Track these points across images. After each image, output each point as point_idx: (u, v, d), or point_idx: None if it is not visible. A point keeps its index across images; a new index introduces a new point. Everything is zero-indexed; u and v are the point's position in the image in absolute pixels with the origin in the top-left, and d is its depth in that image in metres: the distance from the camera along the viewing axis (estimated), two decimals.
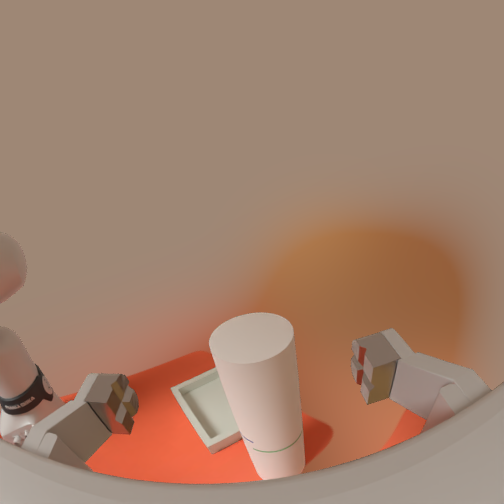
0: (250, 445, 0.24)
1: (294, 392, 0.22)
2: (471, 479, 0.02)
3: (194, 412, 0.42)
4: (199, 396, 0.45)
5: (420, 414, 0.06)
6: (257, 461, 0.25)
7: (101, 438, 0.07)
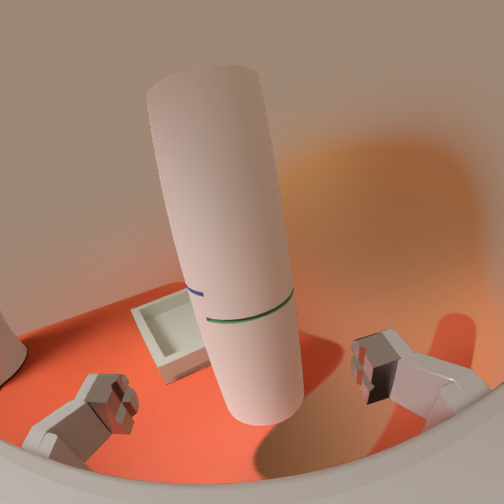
0: (201, 311, 0.17)
1: (266, 165, 0.14)
2: (471, 479, 0.02)
3: (154, 335, 0.34)
4: (164, 319, 0.38)
5: (420, 414, 0.06)
6: (219, 363, 0.18)
7: (101, 438, 0.07)
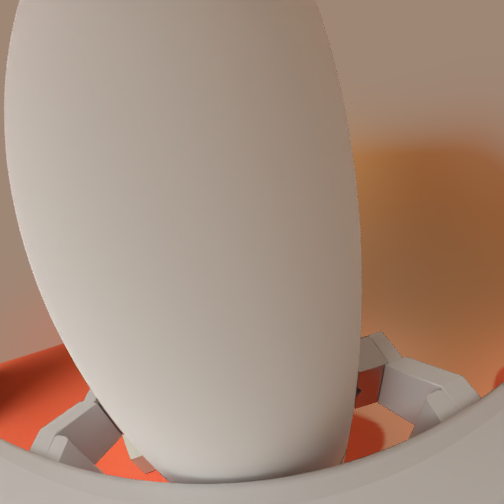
0: None
1: (349, 177, 0.04)
2: (471, 479, 0.02)
3: None
4: None
5: (409, 419, 0.06)
6: None
7: (111, 439, 0.07)
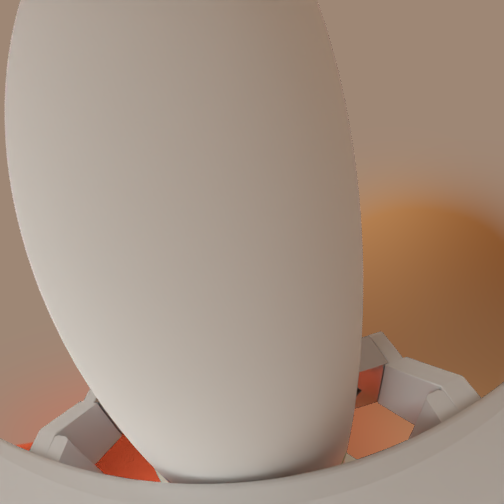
0: None
1: (352, 188, 0.04)
2: (471, 479, 0.02)
3: None
4: None
5: (409, 419, 0.06)
6: None
7: (111, 439, 0.07)
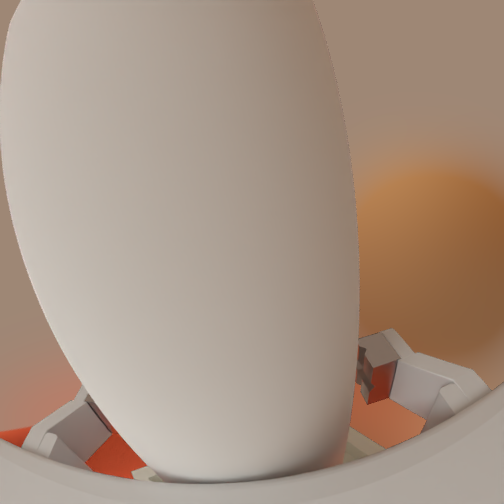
0: None
1: (353, 270, 0.04)
2: (471, 479, 0.02)
3: None
4: None
5: (420, 414, 0.06)
6: None
7: (101, 438, 0.07)
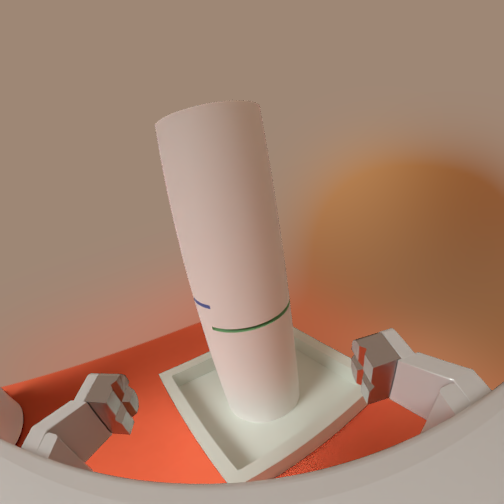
0: (208, 321, 0.19)
1: (266, 193, 0.17)
2: (471, 479, 0.02)
3: (200, 416, 0.23)
4: (208, 388, 0.27)
5: (420, 414, 0.06)
6: (223, 366, 0.20)
7: (101, 438, 0.07)
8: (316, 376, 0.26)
